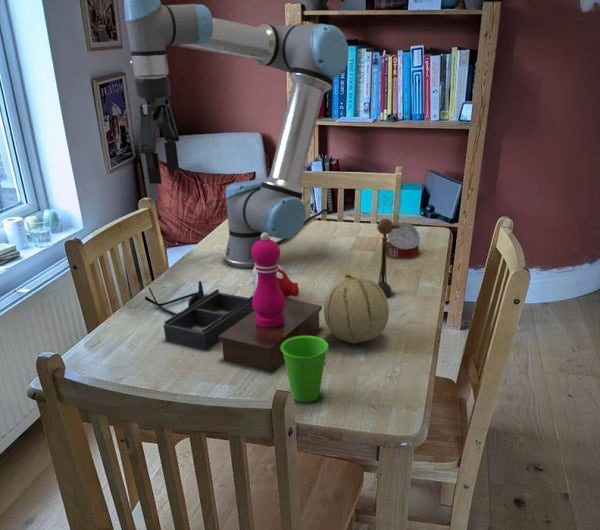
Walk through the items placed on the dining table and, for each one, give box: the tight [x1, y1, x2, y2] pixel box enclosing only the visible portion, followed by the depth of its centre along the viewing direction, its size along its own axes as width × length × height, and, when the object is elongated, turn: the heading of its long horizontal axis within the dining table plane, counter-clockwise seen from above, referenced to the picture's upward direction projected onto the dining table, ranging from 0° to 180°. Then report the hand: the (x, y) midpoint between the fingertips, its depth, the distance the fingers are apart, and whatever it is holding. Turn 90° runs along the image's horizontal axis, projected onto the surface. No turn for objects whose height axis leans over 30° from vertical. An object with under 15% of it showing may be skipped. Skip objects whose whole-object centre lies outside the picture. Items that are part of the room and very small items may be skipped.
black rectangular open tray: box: [163, 289, 254, 351], centre depth 152 cm, size 22×12×5 cm, turn 152°
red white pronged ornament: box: [251, 264, 300, 299], centre depth 165 cm, size 9×11×15 cm
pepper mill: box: [251, 233, 286, 328], centre depth 136 cm, size 7×7×20 cm
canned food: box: [386, 222, 421, 260], centre depth 195 cm, size 11×10×10 cm
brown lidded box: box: [218, 298, 323, 373], centre depth 143 cm, size 24×13×6 cm, turn 152°
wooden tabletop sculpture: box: [376, 218, 399, 298], centre depth 163 cm, size 6×5×20 cm
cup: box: [280, 335, 329, 403], centre depth 122 cm, size 9×9×11 cm
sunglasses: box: [144, 280, 205, 316], centre depth 163 cm, size 17×14×5 cm
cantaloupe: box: [323, 273, 390, 345], centre depth 142 cm, size 15×15×15 cm
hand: (164, 176), depth 152 cm, fingers open, 13 cm apart
